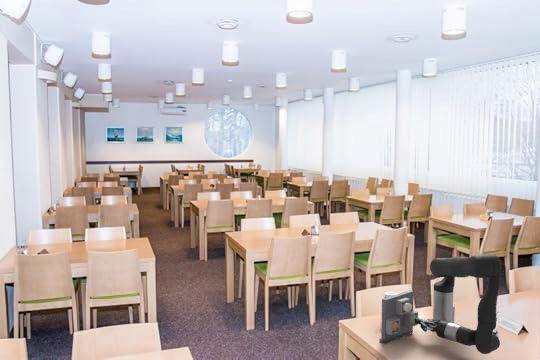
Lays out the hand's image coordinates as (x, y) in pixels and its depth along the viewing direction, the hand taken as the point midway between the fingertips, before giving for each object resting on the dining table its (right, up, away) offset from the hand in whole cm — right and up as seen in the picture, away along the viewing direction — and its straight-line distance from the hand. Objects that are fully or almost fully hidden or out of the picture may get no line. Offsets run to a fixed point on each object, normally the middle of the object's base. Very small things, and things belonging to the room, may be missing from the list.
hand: (415, 320), depth 222 cm
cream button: (-5, +5, -5) cm, 9 cm away
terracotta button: (-12, -2, -7) cm, 14 cm away
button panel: (-8, -8, -1) cm, 11 cm away
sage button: (-1, -2, +2) cm, 3 cm away
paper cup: (-6, -7, +22) cm, 23 cm away
